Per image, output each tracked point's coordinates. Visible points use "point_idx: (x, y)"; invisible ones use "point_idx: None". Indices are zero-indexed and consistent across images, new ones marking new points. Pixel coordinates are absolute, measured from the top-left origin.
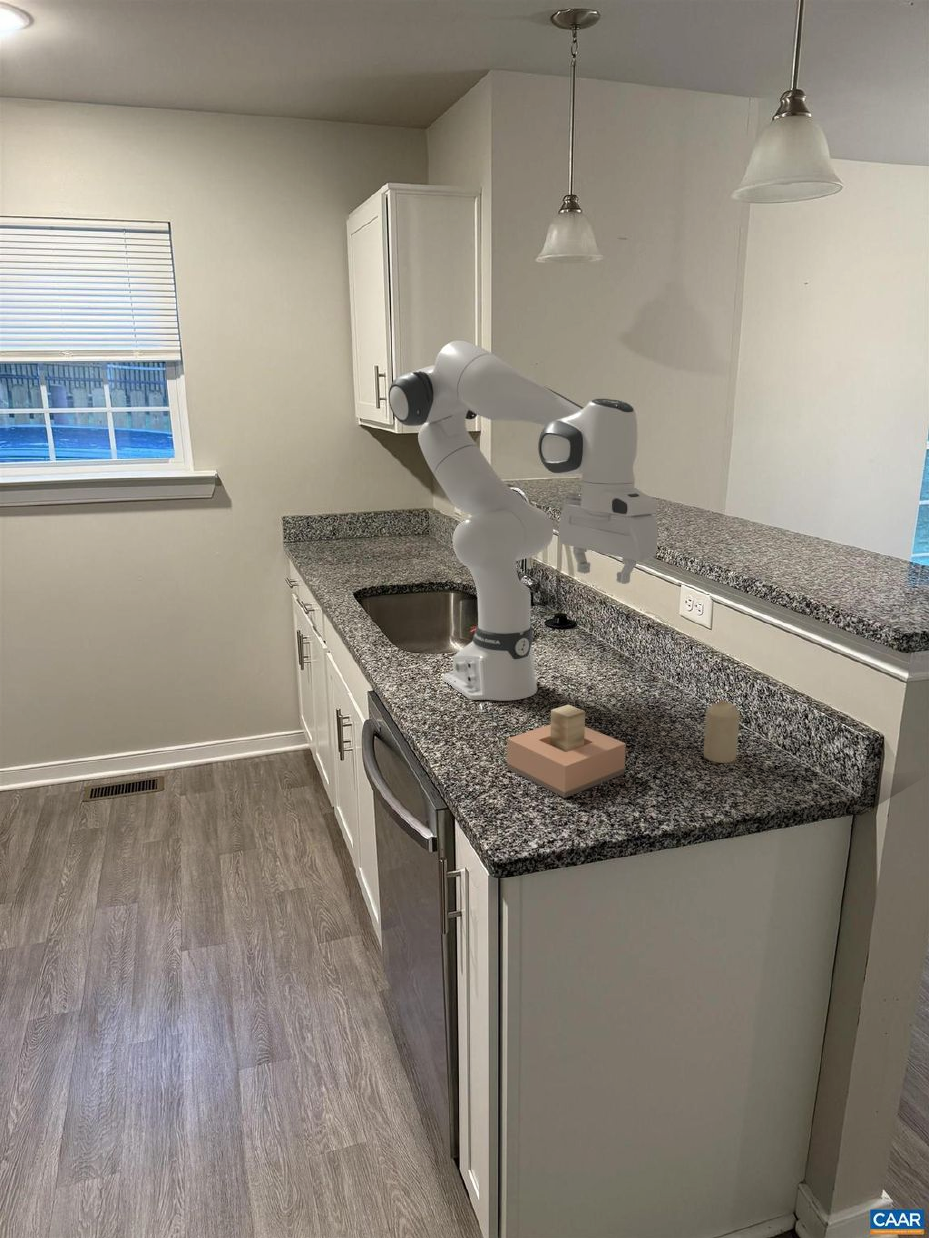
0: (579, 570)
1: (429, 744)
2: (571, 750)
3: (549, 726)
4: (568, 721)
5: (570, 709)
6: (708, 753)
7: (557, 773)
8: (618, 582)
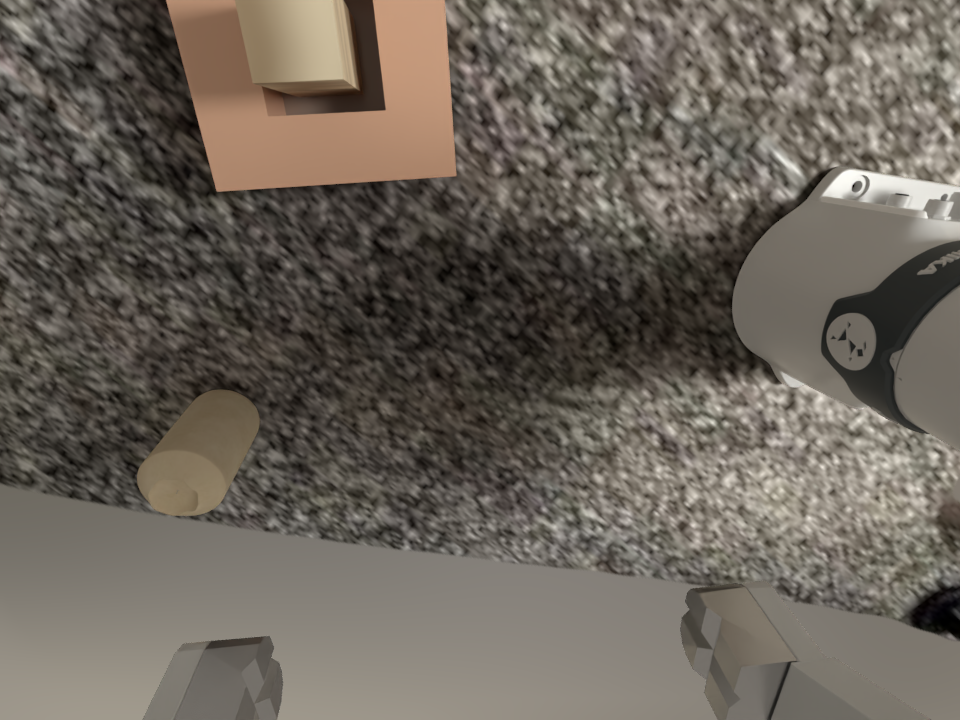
0: (746, 592)
1: None
2: None
3: (438, 87)
4: None
5: (295, 47)
6: (217, 395)
7: None
8: (259, 637)
